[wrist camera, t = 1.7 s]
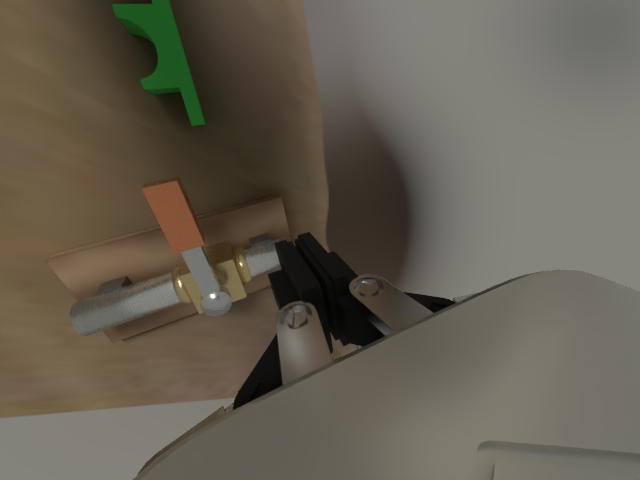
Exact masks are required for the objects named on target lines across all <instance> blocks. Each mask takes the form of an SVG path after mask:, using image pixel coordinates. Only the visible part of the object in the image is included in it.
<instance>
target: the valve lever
mask: <svg viewBox="0 0 640 480" xmlns="http://www.w3.org/2000/svg"><path fill="white" fill-rule="evenodd" d="M141 189H142V191H143V193H144V195H145V197H146V199H147V201H148V203H149V205H150V207H151V209H152V211H153V213H154V215H155V217H156V219H157V221H158V223H159V225H160V227H161V229H162V231H163V232H164V234H165V236H166V238H167V240H168V242H169V244H170V246H171V248H172V250H173V252H174V254H177V253H180V252H181V254H182V256H183V258H184V260H185V262H186V264H187V266H188V268H189V270H190V272H191V274H192V276H193V278H194V280H195V282H196V284H197V286H198V288H199V290H200V292H201V294H202V295H201V304H200V307H201V310H202V312H203V313H204V314H206V315H208V316H212V317H216V316H221V315H223V314H225V313H226V312H228V311H229V309H230V308H231V306H232V300H231V293H230V291H229V290H228V289H227V288H226V287H225V286H224V284H223V283H221V282H218V280H217V277H216V275H215V273H214V270H213V268H212V266H211V264H210V261H209V259H208V257H207V254H206V252H205V250H204V248H203V246H204V245H205V236H204V234H203V232H202V229H201V227H200V225H199V222H198V220H197V217H196V215H195V213H194V210H193V208H192V206H191V203H190V201H189V199H188V196H187V194H186V192H185V189H184V187H183V184H182V182H181V180H180V177H174V178H170V179H165V180H161V181H156V182H152V183H147V184H145V185H144V186H143V187H142V188H141Z"/></svg>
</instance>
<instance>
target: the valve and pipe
mask: <svg viewBox="0 0 640 480" xmlns="http://www.w3.org/2000/svg"><path fill="white" fill-rule="evenodd" d="M285 239H286V240H287V238H286V237H282V238H279V239H275V240H272V241H271V239H270V237H269V235H268V233H265V234H262V235H259V236H255V237H252V238H249V241H250V244H251V247H250V248H247V249H243V247H239V248H235V249H233V248H232V246H231V243H230V240H227V241H223V242H220V243H216V244H213V245H210V246H206V247H203V248H204V250H205V252H206V254H207V257H208V259H209V261H210V264H211V266H212V268H213V270H214V273H215V275H216V277H217V280H218V282H221V283H223V284H224V286H225V287H226V288H227V289H228V290H229V291H230V293H231V300H232V302H235V301H237V300H240V299H243V298H246V297H247V295H246V290H245V284H248V283H251V282H254V280H253V278H255V277H258V276H261V275H263V274H266V273H269V272H272V271H275V270H278V269H281V266H280V263H279V259H278V256H277V252H276V248H275V244H274V243H276V242H279V241H282V240H285ZM287 242H288V240H287ZM95 295H96V296H93V297H90V298H87V299H84V300H81V301H78V302H75V303H74V304H73V305H72V307H71V310H70V320H71V323H72V325H73V327H74V329H75V330H76V331H77V332H78V333H79V334H81V335H84V336H88V335H91V334H94V333H96V332H99V331H102V330H105V329H108V328H111V327H114V326H117V325H119V324H122V323H125V322H128V321H131V320H134V319H137V318H140V317H143V316H145V315H148V314H151V313H154V312H157V311H160V310H163V309H166V308H168V307H171V306H174V305H177V304H180V303H182V304H183V305H188V304H191V303H194V305H195V307H196V308H197V310H198V312H199V314H202V313H203V312H202V310H201V307H200V304H201V295H202V294H201V292H200V290H199V288H198V286H197V284H196V282H195V280H194V278H193V276H192V274H191V272H190V270H189V268H188V266H187V264H186V262H185V260H184V258H183V261H182V265H180V266H177V267H174V268H172V271H171V272H170V273H167V274H164V275H160V276H157V277H154V278H151V279H148V280H145V281H141V282H138V283H135V284H132V283H131V281H130V280H129V278H128V277H127V276H123V277H120V278H117V279H114V280H110V281H107V282H104V283H101V285H100V287H99V288H98V290H97V291H96V293H95Z"/></svg>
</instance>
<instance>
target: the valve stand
mask: <svg viewBox="0 0 640 480" xmlns="http://www.w3.org/2000/svg"><path fill="white" fill-rule="evenodd" d="M196 217H197V220H198V222H199V225H200V227H201V229H202V232H203V234H204V236H205V245H204V246H203V247H206V246H210V245H213V244H216V243H220V242H223V241H227V240H230V243H231V246H232V248H233V249H235V248H239V247H243V249H247V248H250V247H251V244H250V241H249V238H252V237H255V236H259V235H262V234H265V233H268V235H269V237H270V239H271V241H272V240H275V239H279V238H282V237H286V238H287V240H288V242H289V241H291V242H292V240H291V236H290V232H289V228H288V223H287V219H286V215H285V210H284V206H283V202H282V198H281V196H280V195H279V194H278V195H274V196H271V197H267V198H263V199H259V200H255V201H252V202H248V203H244V204H240V205H237V206H233V207H229V208H225V209H222V210H218V211H214V212H210V213H206V214H203V215H199V216H196ZM182 261H183V256H182V254H181V252H180V253H177V254H174V252H173V250H172V248H171V246H170V244H169V242H168V240H167V238H166V236H165V234H164V232H163V231H162V229H161V227H160V226H157V227H154V228H150V229H146V230H142V231H139V232H135V233H131V234H127V235H123V236H120V237H116V238H112V239H108V240H105V241H101V242H97V243H93V244H89V245H86V246H82V247H78V248H74V249H71V250H67V251H63V252H59V253H56V254H53V255H52V256H51V257H49V258H48V259H47V260H46V262H47V264H48V265H49V266H50V267H51V268H52V270H53V271H54V272H55V273H56V275H57V276H58V277H59V278H60V279H61V281H62V282H63V283H64V284H65V285H66V287H67V288H68V289H69V290H70V292H71V293H72V294H73V295H74V296H75V298H76V299H77V300H78V301H81V300H84V299H87V298H90V297H93V296H96V295H95V293H96V291H97V290H98V288H99V287H100V285H101V283H104V282H107V281H110V280H114V279H117V278H120V277H123V276H127V277H128V278H129V280H130V281H131V283H132V284H135V283H138V282H141V281H145V280H148V279H151V278H154V277H157V276H160V275H164V274H167V273H170V272H171V271H172V268H174V267H177V266H180V265H182ZM278 270H281V269H278ZM278 270H275V271H278ZM275 271H272V272H275ZM272 272H269V273H272ZM269 273H266V274H263V275H261V276H258V277H255V278H253V280H254V282H251V283H248V284H245V290H246V295H247V294H250V293H252V292H255V291H258V290H261V289H263V288H266V287H269V286H271V284H270V281H269V278H268V274H269ZM197 312H198V310H197V308H196V307H195V305H194V303H191V304H188V305H183V304H182V303H180V304H177V305H174V306H171V307H168V308H166V309H163V310H160V311H157V312H154V313H151V314H148V315H145V316H143V317H140V318H137V319H134V320H131V321H128V322H125V323H122V324H119V325H117V326H114V327H111V328H108V329H105V330H102V331H103V332H104V333H105V334H106V335H107V337H108V338H109V339H110V340H111V341H112V343H114V342H117V341H120V340H123V339H125V338H128V337H131V336H134V335H136V334H139V333H142V332H145V331H148V330H150V329H153V328H156V327H159V326H161V325H164V324H167V323H170V322H172V321H175V320H178V319H181V318H183V317H186V316H189V315H192V314H194V313H197Z"/></svg>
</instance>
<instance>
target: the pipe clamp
mask: <svg viewBox="0 0 640 480" xmlns="http://www.w3.org/2000/svg"><path fill="white" fill-rule="evenodd" d="M112 7H113V10H114V12H115V15H116V18H117V19H118V20H119V21H120V22H121V23H122V24H123V25H124V26H125V27H126V28H127V30H128V31H129V32H130V33H131V34H132V35H139V36H142V37H144V38H147V39H148V40H150V41H151V42H152V43H154V44H155V47H156V50H157V54H158V63H157V67H156V69H155V71H154V72H153V73H152V74H151V75H150V76H148V77H146V78H143V79H140V81H141V84H142V86H143V89H144V90H145V91H147V92H150V93H152V94H165V93H176V92H181V94H182V97H183V100H184V104H185V107H186V110H187V113H188V116H189V119H190V122H191V125H192V126H197V125H205V124H206V123H205V120H204V116H203V113H202V110H201V106H200V103H199V99H198V96H197V93H196V89H195V86H194V82H193V79H192V76H191V72H190V69H189V65H188V62H187V59H186V55H185V52H184V48H183V45H182V42H181V38H180V35H179V31H178V28H177V25H176V21H175V18H174V14H173V11H172V8H171V4H170V1H169V0H152V4H112Z"/></svg>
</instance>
